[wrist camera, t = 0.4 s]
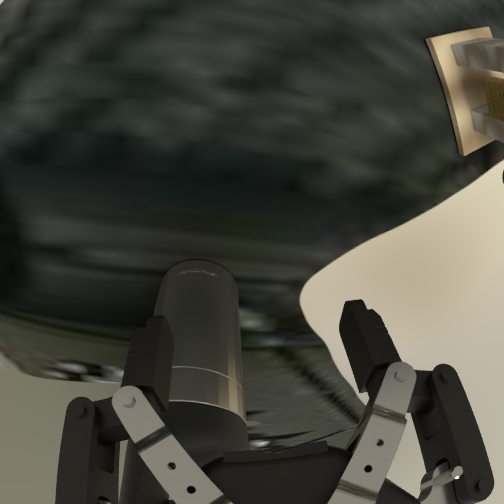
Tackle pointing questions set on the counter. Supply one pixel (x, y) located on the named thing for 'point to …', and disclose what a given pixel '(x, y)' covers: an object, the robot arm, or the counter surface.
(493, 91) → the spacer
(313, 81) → the counter surface
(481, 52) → the frame
